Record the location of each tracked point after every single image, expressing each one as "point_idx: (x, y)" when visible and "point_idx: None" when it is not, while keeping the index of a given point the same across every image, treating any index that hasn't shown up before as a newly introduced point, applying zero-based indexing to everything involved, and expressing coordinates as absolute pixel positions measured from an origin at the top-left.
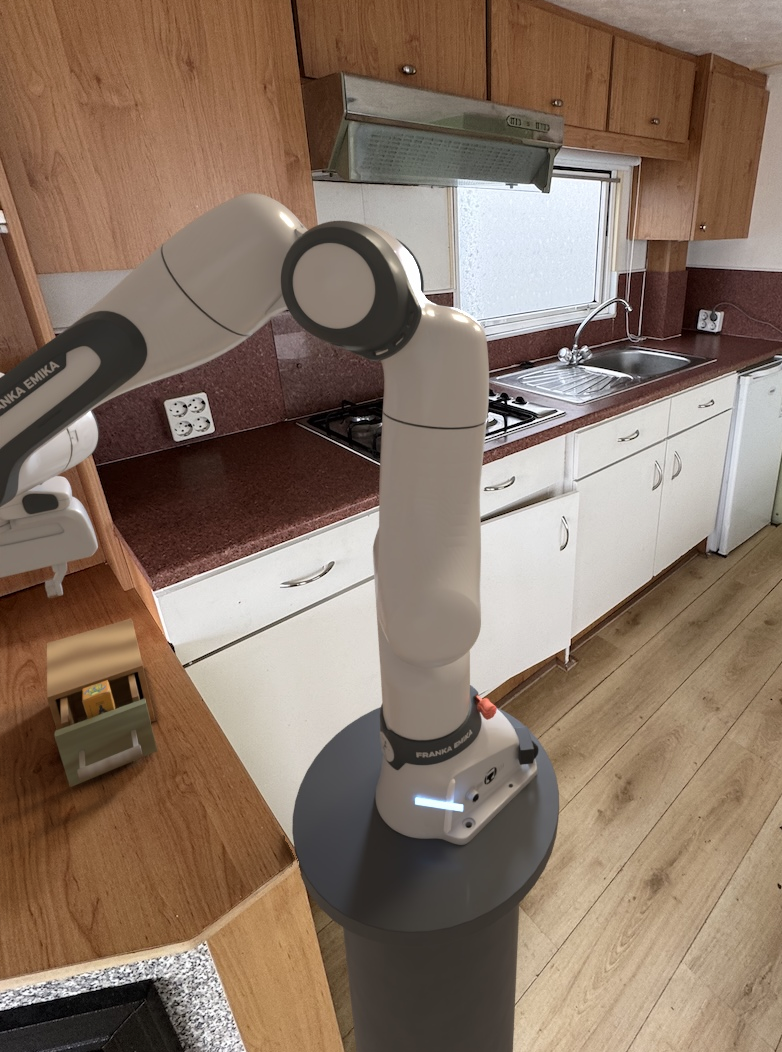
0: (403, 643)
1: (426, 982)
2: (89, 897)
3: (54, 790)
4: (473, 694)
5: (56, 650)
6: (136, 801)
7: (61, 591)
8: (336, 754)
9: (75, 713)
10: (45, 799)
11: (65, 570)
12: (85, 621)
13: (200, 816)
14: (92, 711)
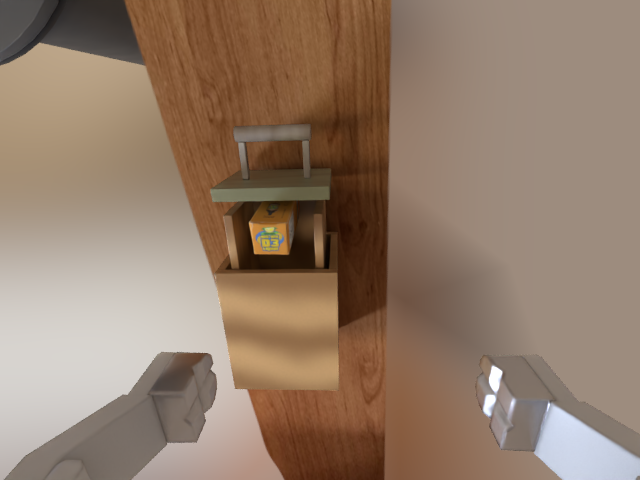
0: None
1: None
2: None
3: (347, 181)
4: None
5: (327, 369)
6: (265, 105)
7: (152, 362)
8: (1, 7)
9: None
10: (356, 173)
11: (36, 454)
12: (315, 437)
13: (193, 28)
14: (281, 213)
